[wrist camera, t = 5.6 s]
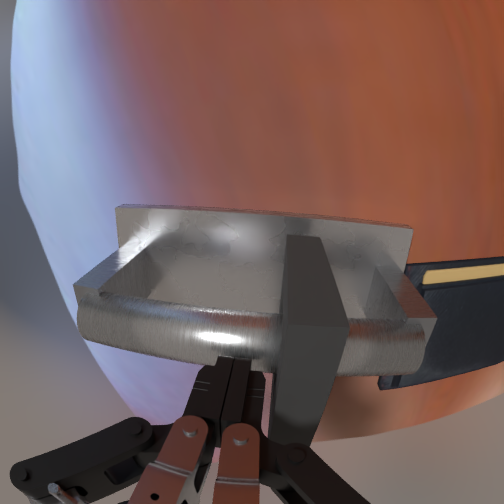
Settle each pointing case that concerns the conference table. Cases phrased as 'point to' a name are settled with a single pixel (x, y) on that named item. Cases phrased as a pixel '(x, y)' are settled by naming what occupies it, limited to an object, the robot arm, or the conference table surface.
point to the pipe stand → (249, 287)
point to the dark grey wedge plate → (306, 341)
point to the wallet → (458, 318)
